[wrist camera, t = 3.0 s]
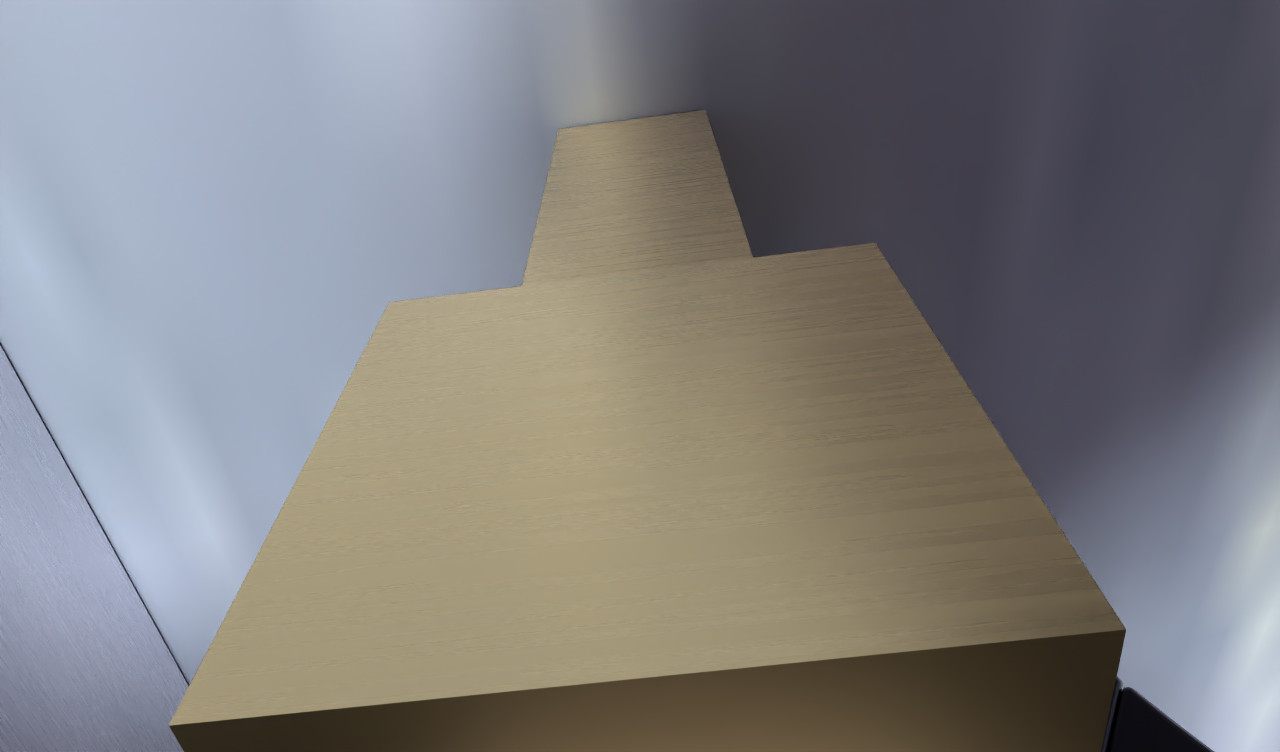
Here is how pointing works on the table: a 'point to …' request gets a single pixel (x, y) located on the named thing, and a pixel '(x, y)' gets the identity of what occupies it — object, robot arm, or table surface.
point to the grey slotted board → (69, 611)
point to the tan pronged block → (660, 512)
